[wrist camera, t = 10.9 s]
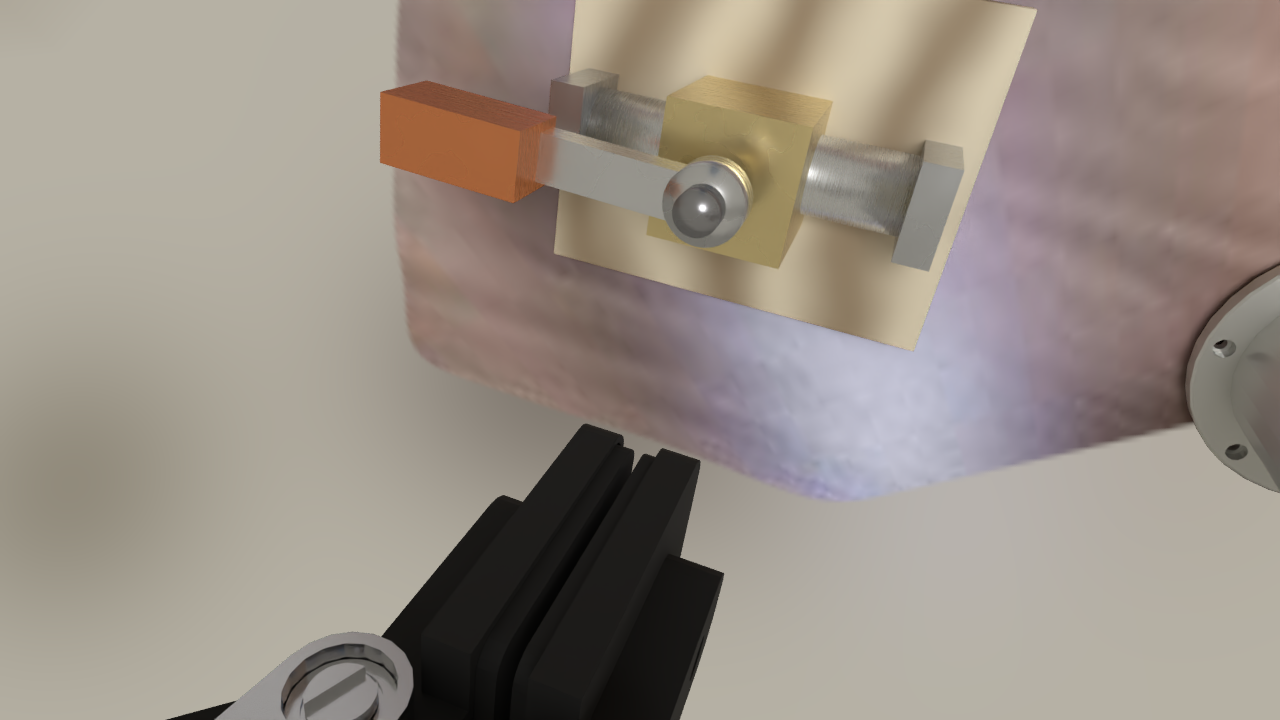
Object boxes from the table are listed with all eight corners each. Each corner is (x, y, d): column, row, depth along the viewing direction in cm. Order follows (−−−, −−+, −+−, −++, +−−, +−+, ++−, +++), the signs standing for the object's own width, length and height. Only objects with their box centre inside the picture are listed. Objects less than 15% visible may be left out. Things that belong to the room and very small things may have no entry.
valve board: (1033, 7, 33) (1037, 9, 31) (914, 339, 41) (913, 351, 39) (594, -68, 37) (581, -68, 36) (564, 245, 45) (553, 253, 44)
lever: (762, 167, 30) (744, 188, 27) (742, 244, 31) (722, 272, 28) (427, 75, 32) (380, 86, 30) (424, 150, 34) (380, 167, 31)
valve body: (968, 129, 34) (974, 172, 27) (924, 255, 37) (920, 321, 30) (590, 51, 38) (514, 71, 31) (578, 170, 41) (507, 212, 34)
